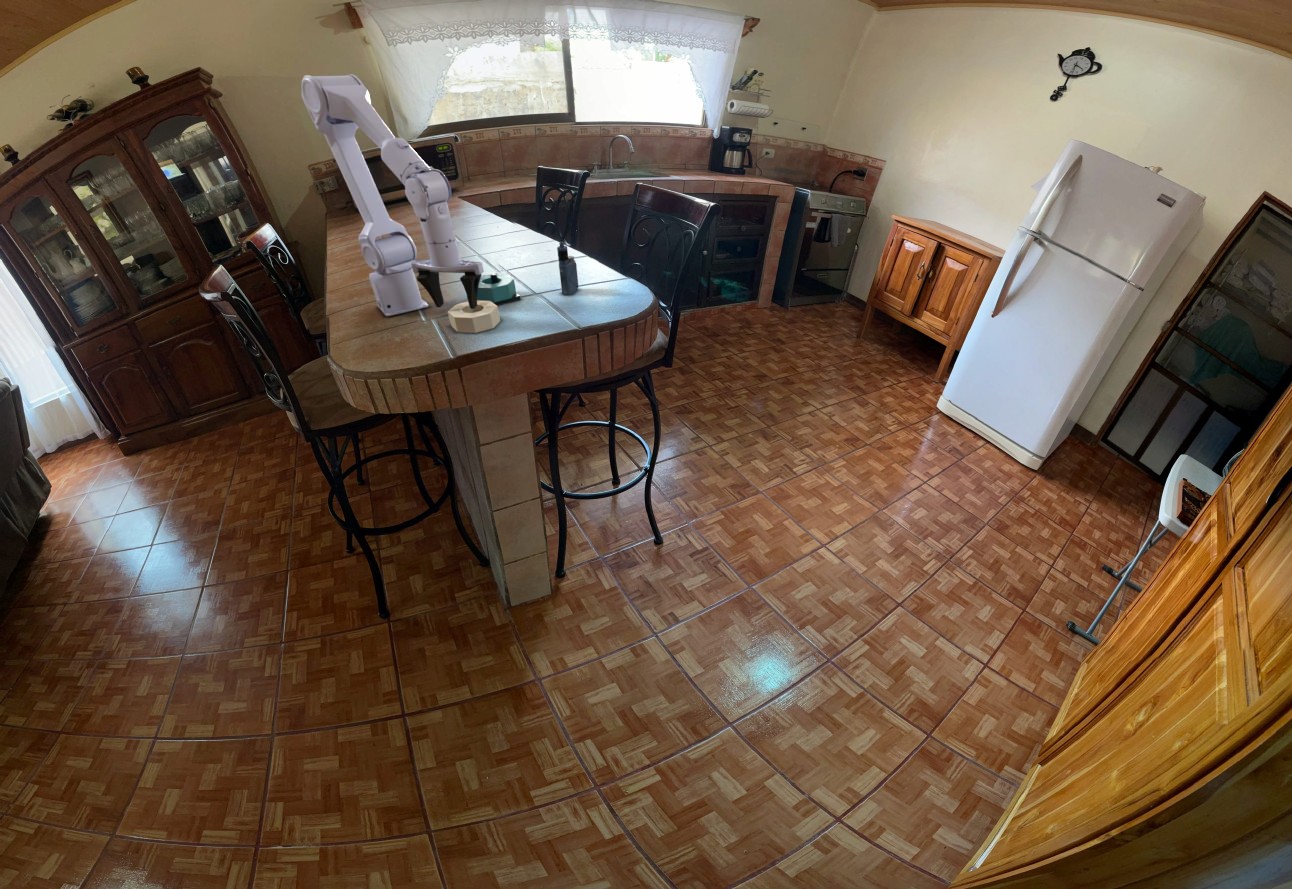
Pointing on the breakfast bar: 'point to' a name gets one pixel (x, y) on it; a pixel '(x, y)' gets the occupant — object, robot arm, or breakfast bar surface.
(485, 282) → the teal ring
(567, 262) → the vaping device
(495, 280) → the peg stand
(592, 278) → the breakfast bar surface
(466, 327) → the cream ring
